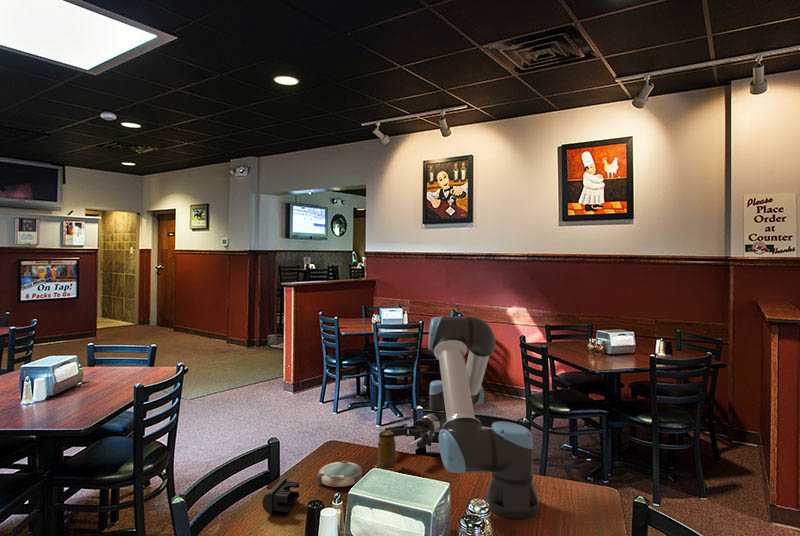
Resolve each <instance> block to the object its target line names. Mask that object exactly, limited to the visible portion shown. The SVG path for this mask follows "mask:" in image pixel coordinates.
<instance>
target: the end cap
mask: <svg viewBox="0 0 800 536" xmlns="http://www.w3.org/2000/svg"><path fill="white" fill-rule="evenodd" d="M291 488H295V489H299V488H300V482H299V481H288V477H283V478H281V479H280V480H278V482H276V484H275V485H274V486H273V487H271V488H270V490H269V491H268V492H267V493H266V494H265V495H264V497H262V502H261V505H262V508H263V510H264V511H265V513H267V514H268V515H270V516H271V517H274V518H275V517H276V518H278V517H279V518H288V516H289V515H290V514H291V513H292V512H293V510H294V509H295V507H296V506H297V505H298V504H299V497H300V491H295V490H291Z"/></svg>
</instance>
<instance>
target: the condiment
mask: <svg viewBox="0 0 800 536" xmlns="http://www.w3.org/2000/svg"><path fill="white" fill-rule="evenodd" d="M378 434H379V435H378V442H377V449H378V450H377V465H378V466H379V468H383V469H388V468H393V467H395V465H396V455H397V454H396V440H395V436H394V432H392V431H385V430H382V431H380V432H379V433H378ZM374 466H375V465H374ZM375 467H377V466H375ZM390 470H391V469H390Z"/></svg>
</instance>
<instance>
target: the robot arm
mask: <svg viewBox="0 0 800 536" xmlns="http://www.w3.org/2000/svg"><path fill="white" fill-rule="evenodd" d="M427 343H428V346H427V347H428V350H429V351H433V354H434V357H435V358H437V359H438V361H439V371H440V377H441V380H439V379H438V380H437V379H436V380H432V381H431V382H430V384H429V392H428V395H429V410H432V411H444V412H437V413H446V414H437V413H430V414H429V413H428V414H427V415H424V416H422V417H421V418H418V419H416V420H415V421H414V423H413V424H412V425H410V426H409V425H408V424H407V423H403V424H399V425H395V426H389V427H385V428H384V431H392V432H394V437H401V436H403V437H404V436H405V437H415V438H417V439H416V440H414V441H412V442H410V443H409V451H410V452H411V453H412V452H414V451H416V450H417V449H419V448H421V447H423V446H424V447H426V446H427V447H431V446H432V443H433V439H434V438H435V433H434V432H436V433H437V432H438V444H439V446H438V447H439V454H440V457H441V460H442V464H443V467H444V468H445V469H446V471H448V472H449V473H453V474H454V473H456V474H458V473H459V474H470V473H491V479H490V481H489V484H488V487H487V490H486V493H485V494H486V495H485V503H486V502H488V503H489V505H490V507H491V510H490V511H491V512H492V513H494V514H495V515H498V516H501V517H503V518H507V519H515V520H523V519H529V518H532V517H534V516H536V515H538V513H539V511H540V498H539V495H538V493H537V489H536V487H535V483H534V442H533V434H532V432H531V431H530V429H528V428H526V427H525V426H523V425H520V424H518V423H515V422H509V421H494V422H492V424H491V427H490V428H482V422H481V421H480V419H478V418H476V417H475V411H474V406H475V405H481V404H483V403H484V401H485V392H484V388H483V386H482V384H483V381H484V380H483V379H484V376H485V373H486V369H487V366H488V362H489V358H490V356H491V355H492V354H493V353H494V351H495V348H496V337H495V334H494V331H493V329H492V327H491V326H490V324H488V323H487V322H486V321H485V319H484V320H483V319H482V318H480V317H477V316H472V315H471V316H470V315H469V316H444V315H442V316H435V317H432V318H431V320H430V323H429V331H428V342H427ZM468 351H469V352H468ZM467 352H468V355H467V360H466V359H465V355H466V354H467ZM436 420H441V421H446V422H440V421H436ZM431 421H433V422H431ZM423 424H424V428H423Z"/></svg>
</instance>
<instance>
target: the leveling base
mask: <svg viewBox="0 0 800 536" xmlns="http://www.w3.org/2000/svg"><path fill="white" fill-rule="evenodd" d="M362 477H363V469H362V467H361V466H360V465H359V464H357V463H355V462H350V461H348V460H343V459H342V460H341V461H335V462H331V463H327V464H325V465H323V466H322V467H321V468H320V469H319V471H318V473H317V474H316V485H318V486H323V485H325V486H329V487H332V488H333V487H336V488H341V487H343V488H344V487H348V486H352V485H353V486H354V484H355V483H357V481H359V480H360V479H361V480H362Z"/></svg>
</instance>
